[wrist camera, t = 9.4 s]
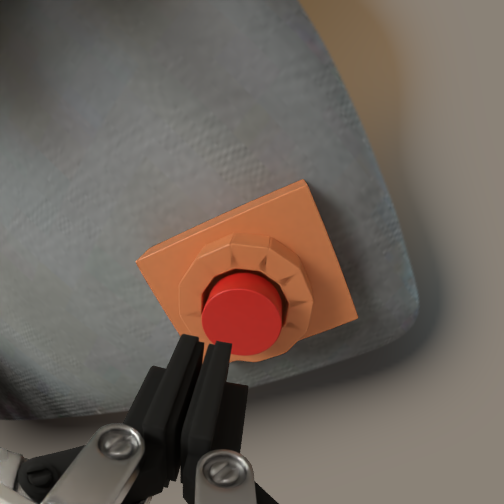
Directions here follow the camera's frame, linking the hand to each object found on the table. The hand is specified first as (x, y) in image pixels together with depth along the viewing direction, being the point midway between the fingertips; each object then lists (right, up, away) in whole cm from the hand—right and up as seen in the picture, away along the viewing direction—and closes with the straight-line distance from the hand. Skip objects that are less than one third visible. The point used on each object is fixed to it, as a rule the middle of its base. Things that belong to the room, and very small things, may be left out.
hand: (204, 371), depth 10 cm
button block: (+2, +3, +9) cm, 9 cm away
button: (+1, +1, +5) cm, 6 cm away
